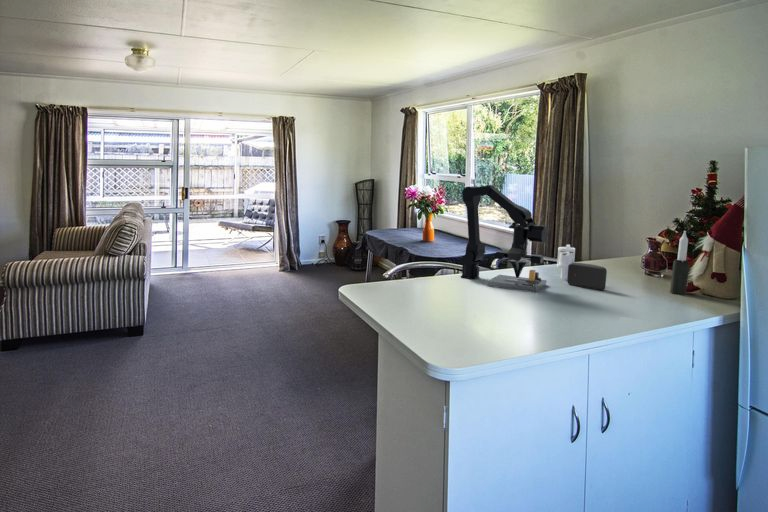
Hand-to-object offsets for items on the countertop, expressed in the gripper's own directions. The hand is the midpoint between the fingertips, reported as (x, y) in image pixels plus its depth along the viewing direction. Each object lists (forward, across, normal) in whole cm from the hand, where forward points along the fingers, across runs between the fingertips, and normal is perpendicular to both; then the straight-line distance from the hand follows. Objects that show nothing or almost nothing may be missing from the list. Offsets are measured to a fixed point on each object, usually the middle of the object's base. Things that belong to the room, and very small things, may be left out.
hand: (517, 277), depth 219 cm
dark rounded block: (+3, +25, +13) cm, 28 cm away
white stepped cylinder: (+3, +14, +25) cm, 29 cm away
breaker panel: (+3, 0, 0) cm, 3 cm away
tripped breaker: (+1, +6, 0) cm, 6 cm away
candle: (+3, +58, +24) cm, 63 cm away
